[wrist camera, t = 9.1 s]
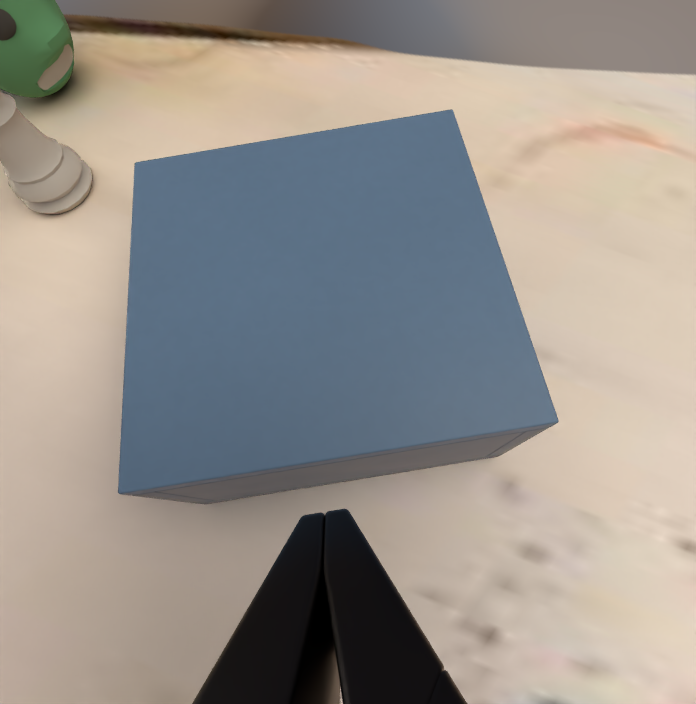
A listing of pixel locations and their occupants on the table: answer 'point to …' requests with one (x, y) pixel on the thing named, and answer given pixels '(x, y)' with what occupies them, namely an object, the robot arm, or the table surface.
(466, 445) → the box
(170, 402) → the lid
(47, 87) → the alien toy
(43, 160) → the rook chess piece
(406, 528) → the table surface
